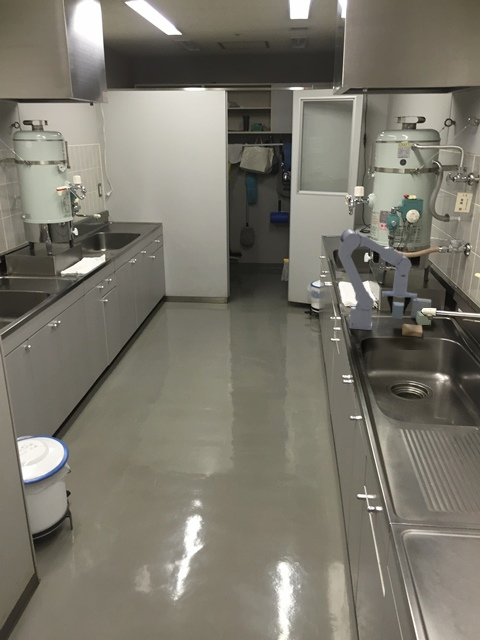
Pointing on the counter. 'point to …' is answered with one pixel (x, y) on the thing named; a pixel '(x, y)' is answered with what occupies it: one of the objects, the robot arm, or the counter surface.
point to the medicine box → (419, 305)
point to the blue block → (397, 310)
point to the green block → (422, 319)
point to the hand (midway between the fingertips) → (397, 312)
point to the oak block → (412, 330)
